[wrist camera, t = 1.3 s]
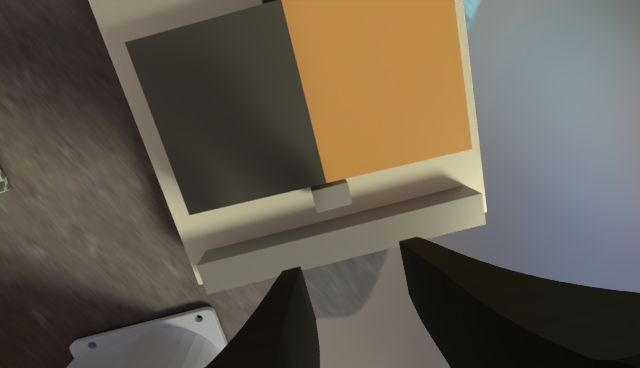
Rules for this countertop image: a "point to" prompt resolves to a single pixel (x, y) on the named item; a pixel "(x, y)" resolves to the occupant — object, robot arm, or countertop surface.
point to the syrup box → (3, 182)
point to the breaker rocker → (303, 94)
